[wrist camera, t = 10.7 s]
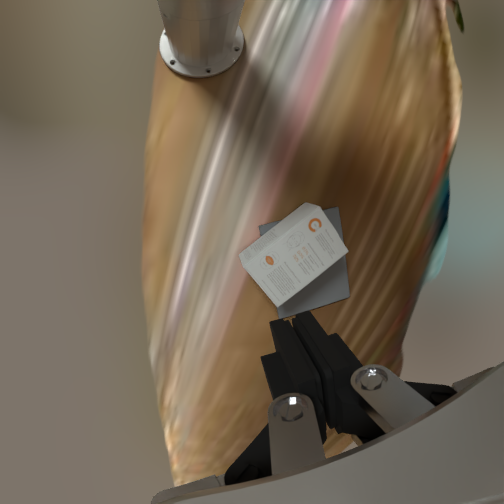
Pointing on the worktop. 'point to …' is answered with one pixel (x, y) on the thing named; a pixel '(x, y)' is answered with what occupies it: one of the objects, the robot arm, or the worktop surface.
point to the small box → (293, 253)
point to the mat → (318, 278)
